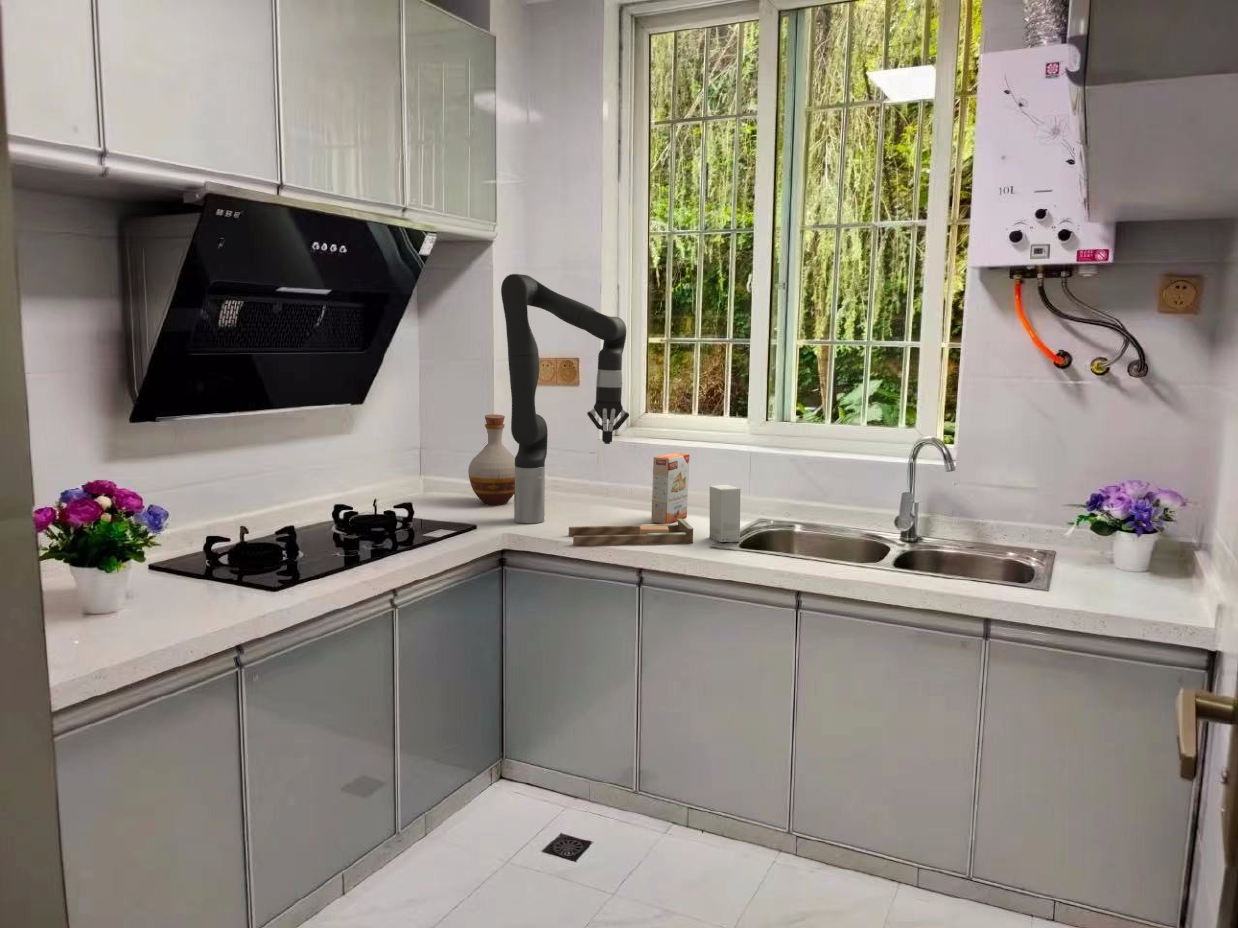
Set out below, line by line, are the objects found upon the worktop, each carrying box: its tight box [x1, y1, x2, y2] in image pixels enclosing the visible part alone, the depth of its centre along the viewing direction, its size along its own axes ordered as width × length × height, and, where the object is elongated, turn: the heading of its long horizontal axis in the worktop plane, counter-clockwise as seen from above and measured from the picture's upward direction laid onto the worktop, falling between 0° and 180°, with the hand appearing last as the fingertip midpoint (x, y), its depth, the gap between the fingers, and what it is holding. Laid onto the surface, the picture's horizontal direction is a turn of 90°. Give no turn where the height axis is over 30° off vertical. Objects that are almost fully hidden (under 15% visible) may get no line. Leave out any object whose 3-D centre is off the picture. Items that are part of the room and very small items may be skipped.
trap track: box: [568, 518, 694, 547], centre depth 266 cm, size 34×13×4 cm, turn 99°
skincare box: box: [709, 484, 741, 543], centre depth 267 cm, size 8×7×16 cm
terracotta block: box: [639, 524, 669, 534], centre depth 266 cm, size 8×5×4 cm, turn 92°
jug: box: [467, 413, 516, 506], centre depth 314 cm, size 20×18×30 cm
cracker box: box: [650, 452, 690, 524], centre depth 291 cm, size 14×6×21 cm, turn 148°
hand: (606, 443), depth 275 cm, fingers closed
